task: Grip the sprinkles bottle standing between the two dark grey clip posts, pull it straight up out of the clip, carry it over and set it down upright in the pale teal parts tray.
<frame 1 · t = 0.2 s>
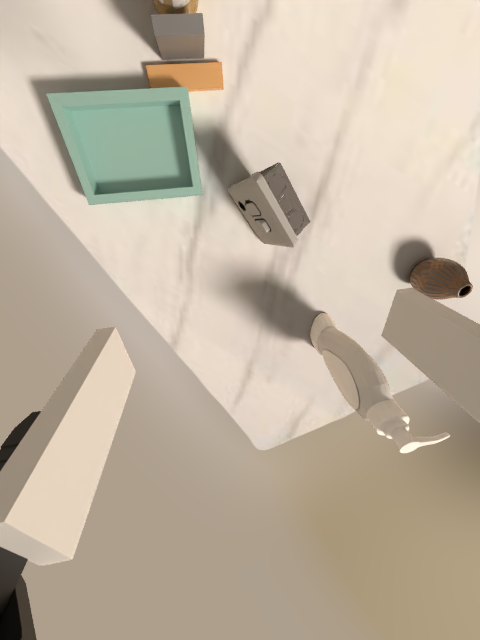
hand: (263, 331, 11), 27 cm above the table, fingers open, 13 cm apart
electrical switch: (259, 204, 33), on the table
vase: (419, 271, 43), on the table
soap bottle: (326, 330, 48), on the table
parts tray: (139, 152, 28), on the table
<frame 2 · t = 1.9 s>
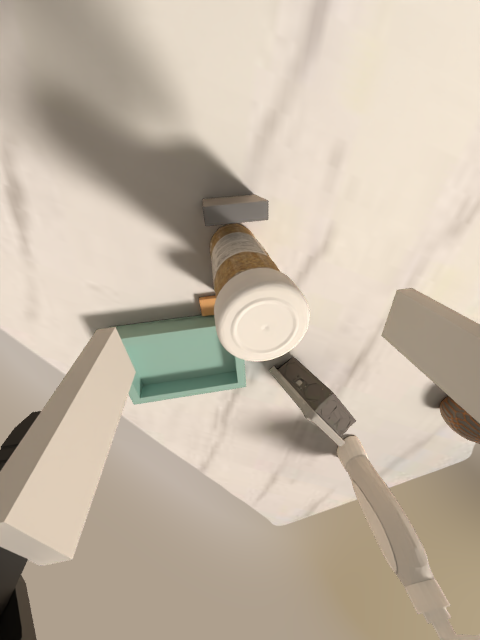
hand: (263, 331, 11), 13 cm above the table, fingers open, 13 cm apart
electrical switch: (298, 372, 33), on the table
sprinkles bottle: (232, 247, 22), on the table
vase: (449, 399, 43), on the table
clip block: (232, 247, 22), on the table
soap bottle: (353, 445, 48), on the table
parts tray: (184, 352, 28), on the table
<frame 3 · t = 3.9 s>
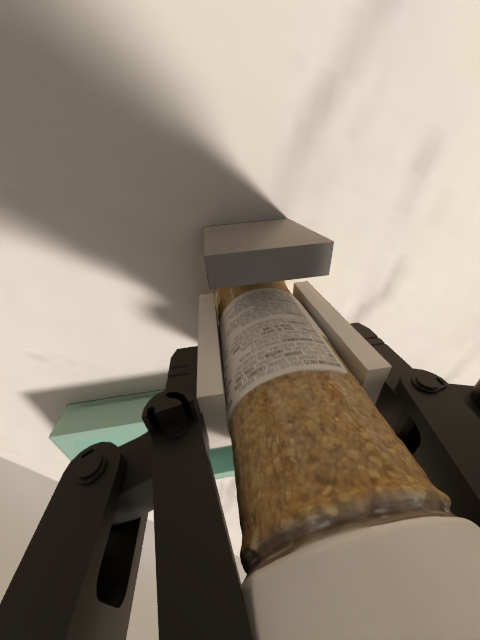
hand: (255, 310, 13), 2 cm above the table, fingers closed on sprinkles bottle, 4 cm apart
sprinkles bottle: (249, 295, 14), on the table, touching gripper
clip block: (249, 296, 14), on the table
parts tray: (178, 427, 20), on the table
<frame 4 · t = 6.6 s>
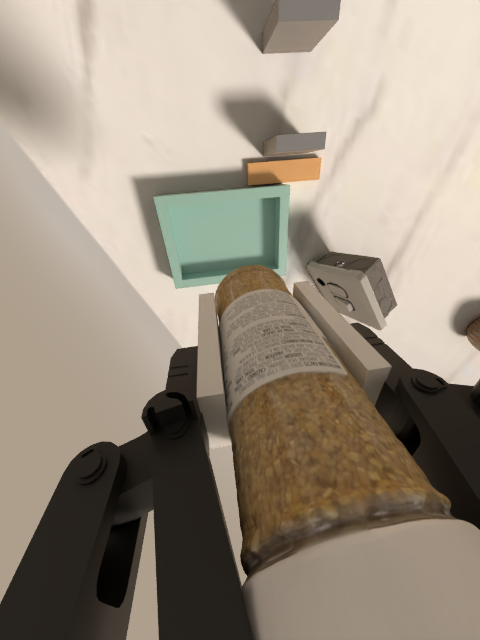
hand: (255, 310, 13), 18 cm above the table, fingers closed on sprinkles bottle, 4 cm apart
electrical switch: (332, 274, 33), on the table
sprinkles bottle: (249, 296, 14), point 16 cm above the table, touching gripper
vase: (476, 325, 43), on the table
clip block: (285, 100, 22), on the table
parts tray: (226, 236, 28), on the table
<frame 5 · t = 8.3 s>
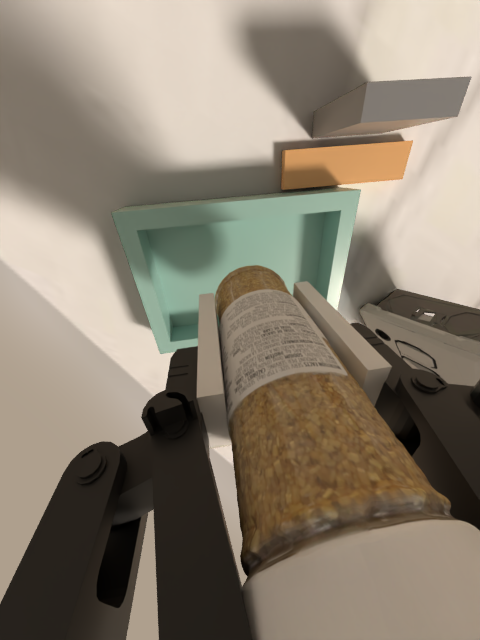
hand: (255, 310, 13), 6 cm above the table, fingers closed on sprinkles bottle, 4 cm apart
electrical switch: (393, 318, 23), on the table
sprinkles bottle: (249, 296, 14), point 4 cm above the table, touching gripper
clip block: (363, 25, 11), on the table
parts tray: (240, 270, 17), on the table
when the fingers open (3 cm above the table, at t = 9.4 s): sprinkles bottle drops 1 cm, resting on parts tray.
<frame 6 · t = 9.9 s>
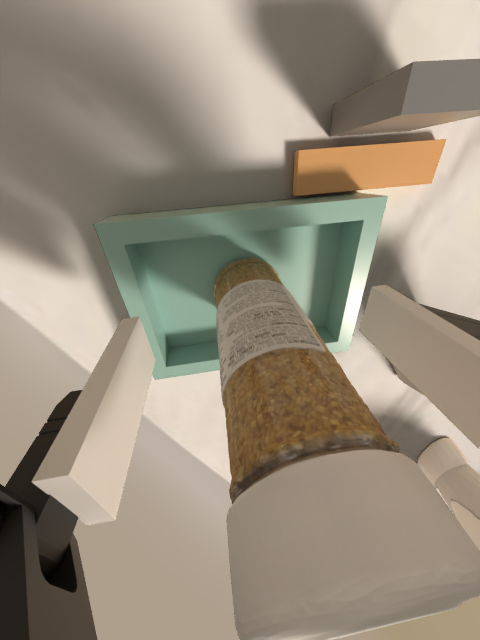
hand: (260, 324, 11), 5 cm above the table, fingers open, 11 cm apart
electrical switch: (411, 334, 21), on the table
sprinkles bottle: (245, 287, 15), resting on parts tray
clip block: (395, 1, 9), on the table
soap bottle: (439, 450, 35), on the table
parts tray: (245, 285, 15), on the table
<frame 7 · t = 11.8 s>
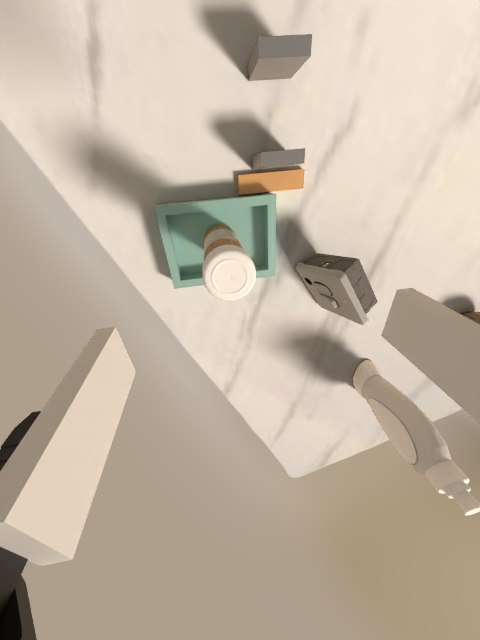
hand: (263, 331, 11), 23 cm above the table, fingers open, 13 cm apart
electrical switch: (320, 274, 36), on the table
sprinkles bottle: (219, 240, 30), resting on parts tray
vase: (460, 321, 46), on the table
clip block: (270, 119, 25), on the table
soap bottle: (368, 373, 50), on the table
parts tray: (220, 240, 31), on the table
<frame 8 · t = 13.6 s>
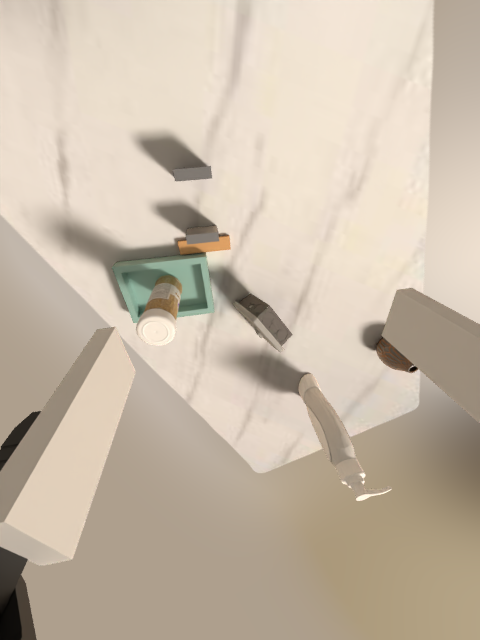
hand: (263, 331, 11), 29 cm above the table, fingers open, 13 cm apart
electrical switch: (256, 308, 44), on the table
sprinkles bottle: (169, 286, 39), resting on parts tray
vase: (384, 342, 54), on the table
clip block: (198, 204, 33), on the table
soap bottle: (311, 384, 59), on the table
parts tray: (169, 285, 39), on the table
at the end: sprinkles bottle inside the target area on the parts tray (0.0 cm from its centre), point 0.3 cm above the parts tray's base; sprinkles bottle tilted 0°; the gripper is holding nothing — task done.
